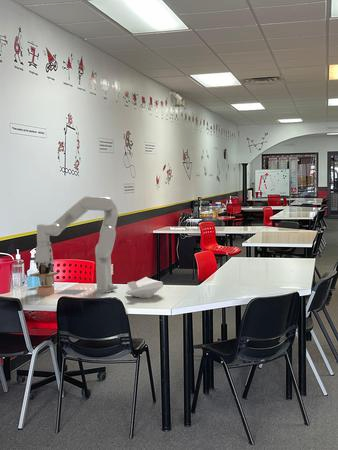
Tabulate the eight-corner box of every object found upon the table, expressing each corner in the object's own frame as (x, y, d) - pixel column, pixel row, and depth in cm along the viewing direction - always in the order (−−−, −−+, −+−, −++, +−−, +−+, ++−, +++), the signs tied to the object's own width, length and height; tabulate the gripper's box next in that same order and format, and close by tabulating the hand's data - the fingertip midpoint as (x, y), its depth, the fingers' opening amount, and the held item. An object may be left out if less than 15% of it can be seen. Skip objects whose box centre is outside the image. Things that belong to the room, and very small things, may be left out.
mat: (87, 291, 372) (87, 290, 372) (76, 295, 358) (76, 294, 358) (66, 290, 377) (66, 289, 377) (54, 294, 363) (54, 293, 363)
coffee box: (47, 284, 400) (46, 261, 399) (54, 285, 397) (53, 262, 396) (38, 286, 392) (37, 263, 391) (45, 287, 389) (44, 263, 388)
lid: (58, 273, 366) (58, 264, 366) (48, 276, 354) (47, 267, 354) (40, 273, 370) (40, 263, 370) (29, 276, 358) (29, 266, 358)
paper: (146, 291, 364) (145, 272, 363) (172, 296, 346) (171, 276, 345) (113, 297, 347) (113, 277, 347) (139, 303, 329) (138, 281, 328)
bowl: (56, 293, 366) (56, 285, 366) (48, 296, 357) (48, 288, 356) (42, 292, 370) (42, 285, 369) (34, 295, 360) (33, 287, 360)
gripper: (58, 243, 362) (59, 272, 363) (34, 243, 367) (35, 271, 368) (52, 244, 355) (53, 274, 356) (28, 244, 360) (29, 273, 361)
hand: (44, 272), depth 362 cm, fingers closed on lid, 4 cm apart
